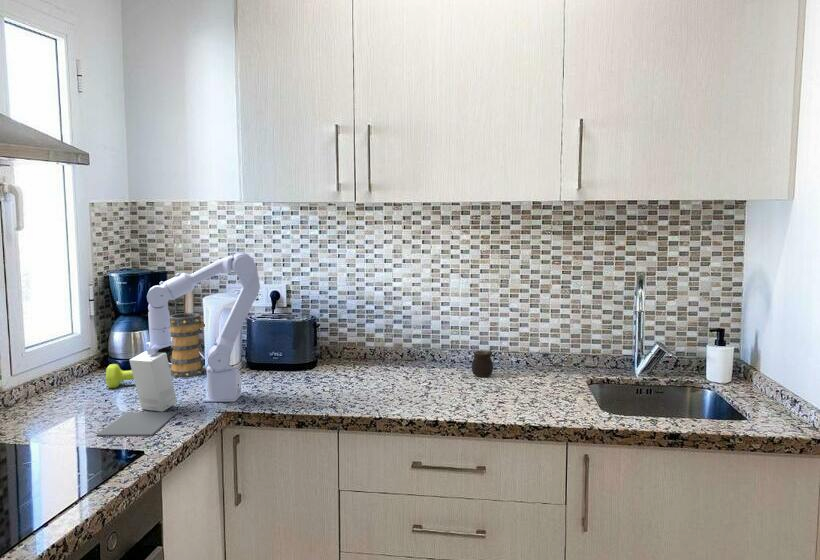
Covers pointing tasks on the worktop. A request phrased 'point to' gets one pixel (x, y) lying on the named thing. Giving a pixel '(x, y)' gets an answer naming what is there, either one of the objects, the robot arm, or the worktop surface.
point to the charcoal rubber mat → (138, 424)
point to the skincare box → (153, 381)
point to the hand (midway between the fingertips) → (162, 373)
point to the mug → (186, 345)
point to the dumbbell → (117, 375)
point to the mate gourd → (482, 363)
